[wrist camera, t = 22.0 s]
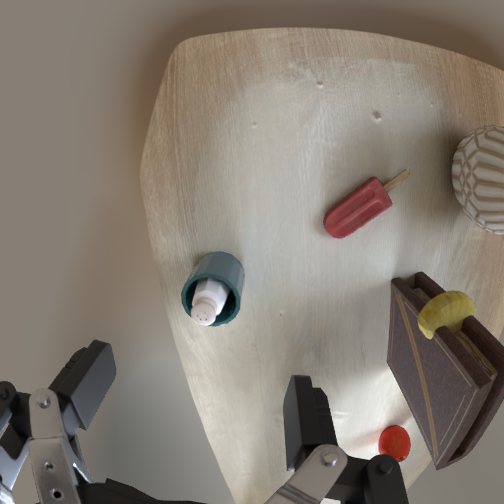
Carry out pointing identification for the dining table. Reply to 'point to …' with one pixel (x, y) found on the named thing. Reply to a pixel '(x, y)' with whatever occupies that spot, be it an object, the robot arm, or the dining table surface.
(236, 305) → the cup
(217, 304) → the pepper shaker
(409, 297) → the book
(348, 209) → the popsicle
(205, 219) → the dining table surface
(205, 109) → the dining table surface
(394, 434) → the apple
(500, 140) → the vase
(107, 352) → the robot arm
